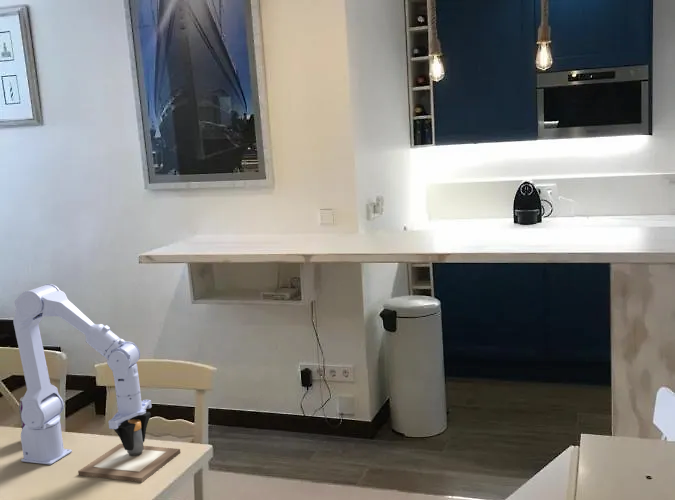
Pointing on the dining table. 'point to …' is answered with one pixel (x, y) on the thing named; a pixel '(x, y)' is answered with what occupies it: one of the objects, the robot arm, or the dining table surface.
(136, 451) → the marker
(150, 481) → the dining table surface
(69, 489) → the dining table surface
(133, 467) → the board
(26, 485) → the dining table surface
